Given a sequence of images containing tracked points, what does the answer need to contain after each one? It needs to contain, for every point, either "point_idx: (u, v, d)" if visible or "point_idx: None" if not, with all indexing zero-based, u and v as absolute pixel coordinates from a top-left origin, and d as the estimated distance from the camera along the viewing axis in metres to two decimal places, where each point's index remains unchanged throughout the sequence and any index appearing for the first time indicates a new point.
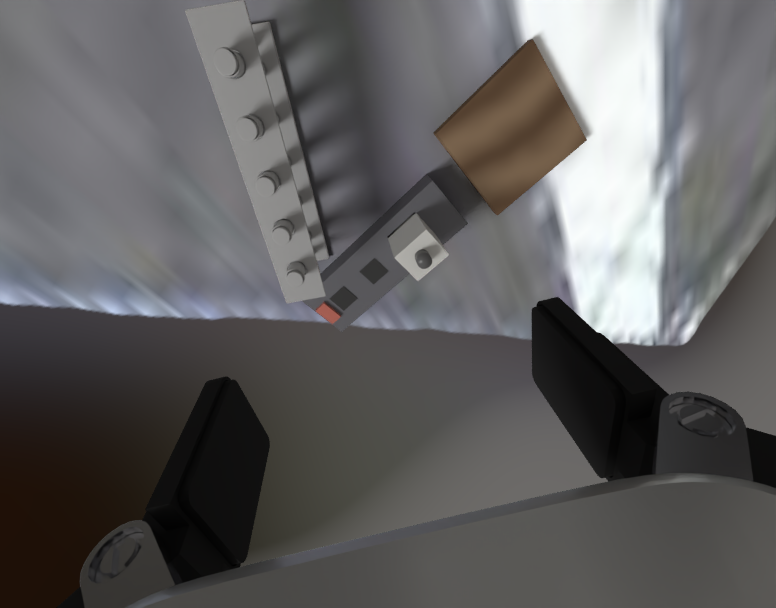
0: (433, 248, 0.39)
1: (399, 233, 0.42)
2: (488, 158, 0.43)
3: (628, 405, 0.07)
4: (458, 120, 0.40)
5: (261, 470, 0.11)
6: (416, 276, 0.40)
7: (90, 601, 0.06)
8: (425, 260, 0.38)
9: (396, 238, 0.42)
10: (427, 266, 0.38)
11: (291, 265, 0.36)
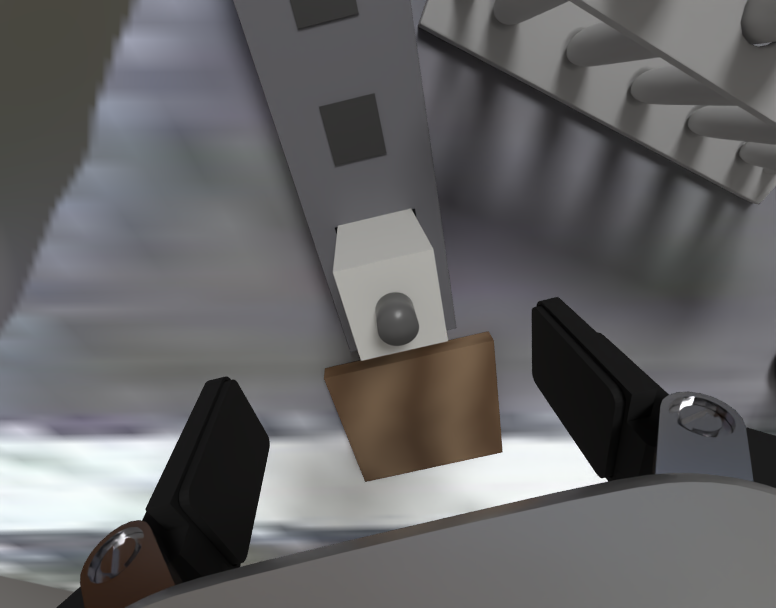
0: None
1: None
2: (416, 388, 0.29)
3: (628, 405, 0.07)
4: (487, 370, 0.28)
5: (261, 470, 0.11)
6: (348, 275, 0.14)
7: (90, 601, 0.06)
8: (400, 332, 0.14)
9: None
10: (381, 330, 0.14)
11: None
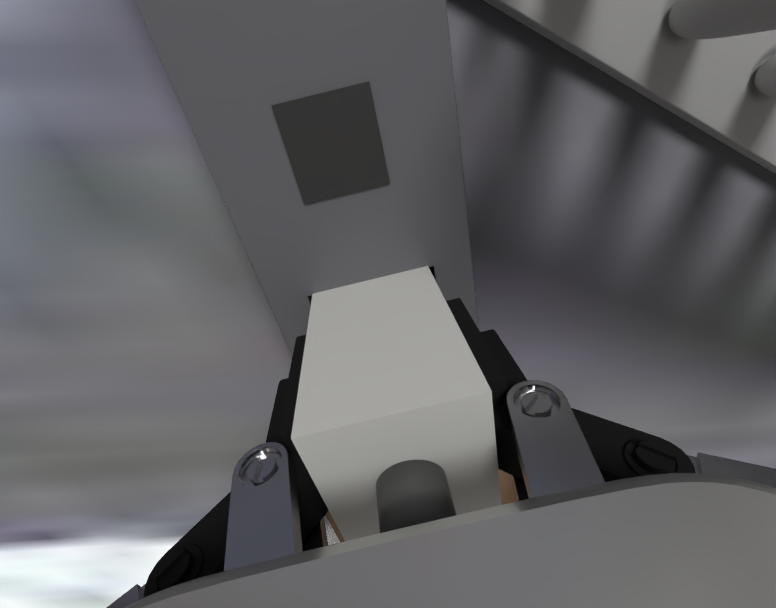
0: None
1: None
2: None
3: None
4: None
5: None
6: (322, 440, 0.07)
7: (234, 497, 0.07)
8: None
9: None
10: None
11: None
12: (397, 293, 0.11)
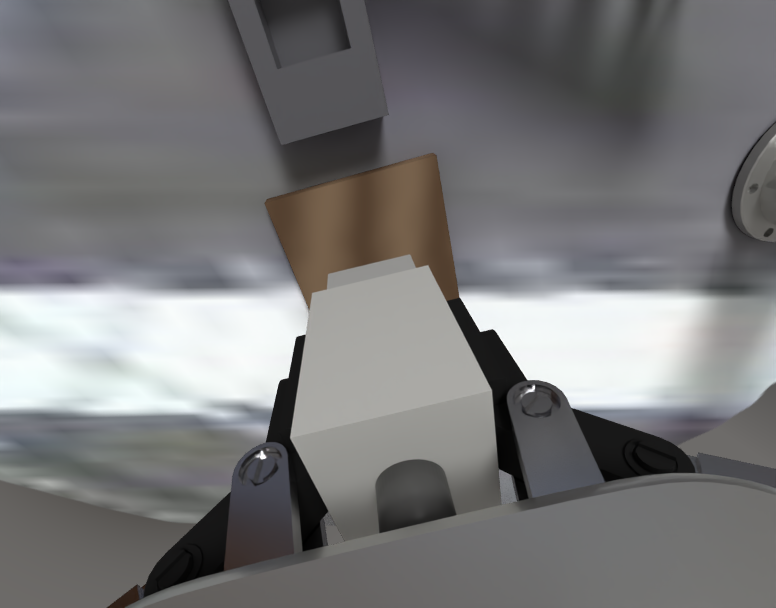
0: None
1: None
2: (362, 218, 0.28)
3: None
4: (433, 195, 0.28)
5: None
6: (322, 440, 0.07)
7: (234, 497, 0.07)
8: None
9: None
10: None
11: None
12: (397, 292, 0.11)
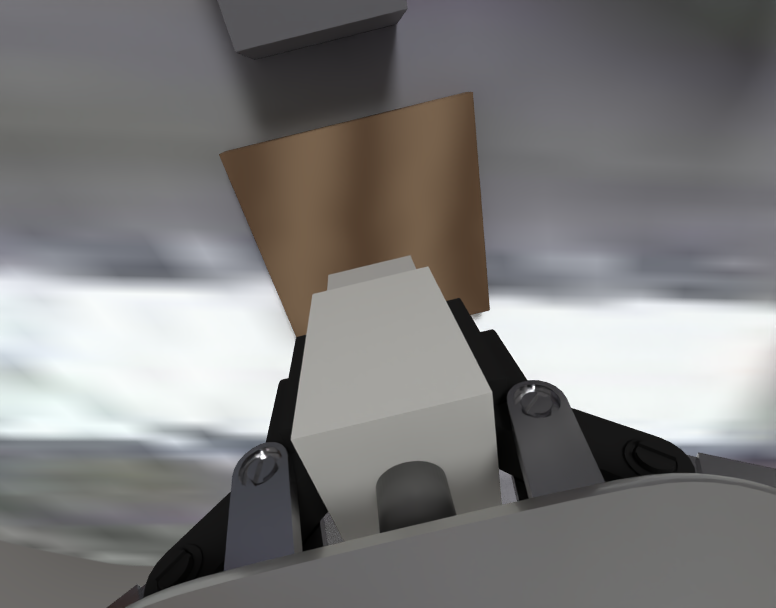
0: None
1: None
2: (361, 184, 0.20)
3: None
4: (464, 154, 0.19)
5: None
6: (322, 442, 0.07)
7: (234, 497, 0.07)
8: None
9: None
10: None
11: None
12: (397, 294, 0.11)
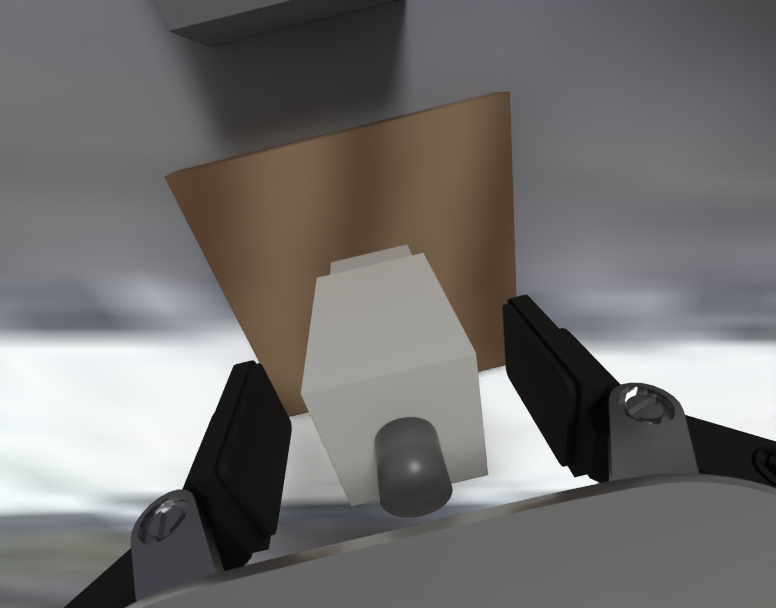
0: None
1: None
2: (358, 213, 0.15)
3: (581, 395, 0.08)
4: (495, 173, 0.15)
5: (285, 451, 0.11)
6: (328, 397, 0.08)
7: (137, 560, 0.07)
8: (420, 499, 0.08)
9: None
10: (387, 499, 0.08)
11: None
12: (395, 276, 0.12)
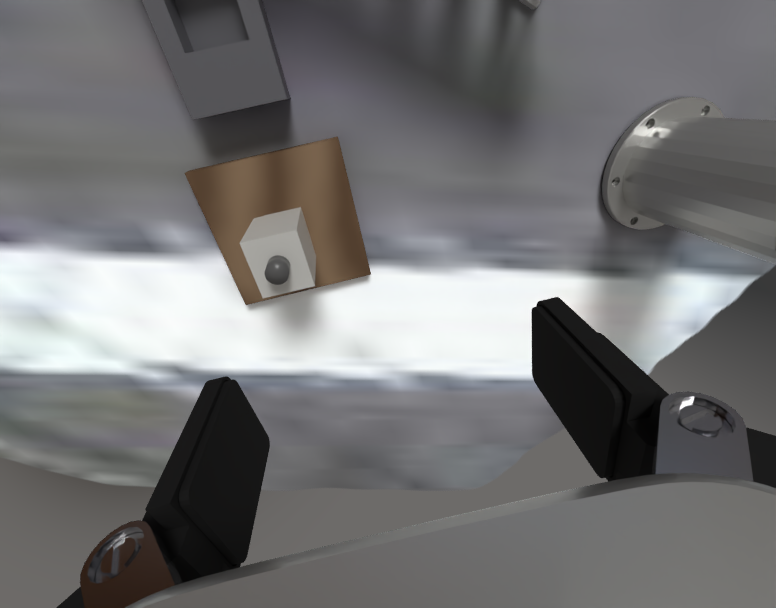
0: (282, 284, 0.27)
1: (305, 231, 0.30)
2: (275, 191, 0.32)
3: (628, 405, 0.07)
4: (338, 173, 0.32)
5: (261, 470, 0.11)
6: (248, 244, 0.25)
7: (90, 601, 0.06)
8: (278, 276, 0.25)
9: (303, 226, 0.29)
10: (267, 274, 0.25)
11: None
12: (284, 215, 0.29)
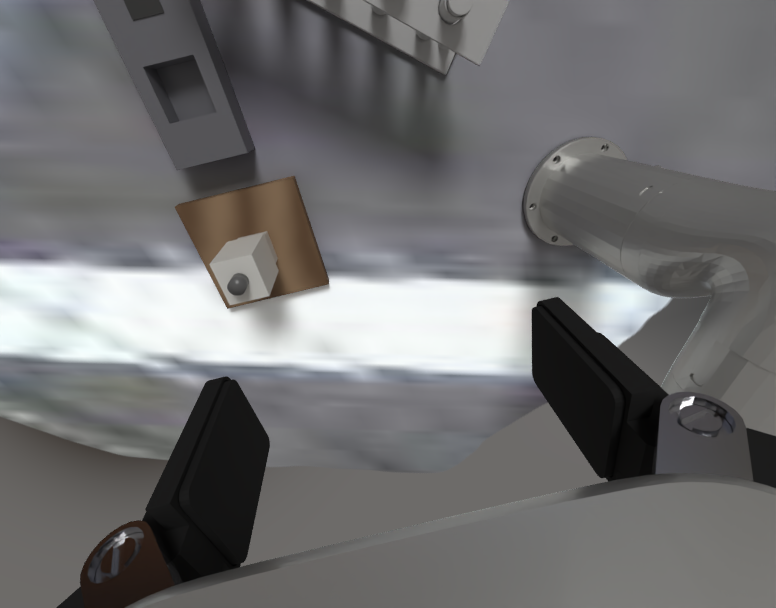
0: (244, 294, 0.35)
1: (266, 252, 0.38)
2: (246, 219, 0.40)
3: (628, 405, 0.07)
4: (295, 204, 0.40)
5: (261, 470, 0.11)
6: (216, 265, 0.33)
7: (90, 601, 0.06)
8: (237, 289, 0.33)
9: (263, 248, 0.37)
10: (229, 288, 0.33)
11: None
12: (249, 240, 0.37)
